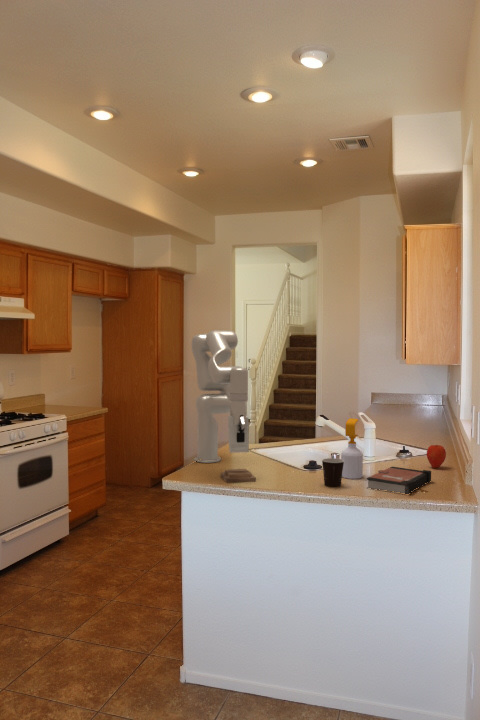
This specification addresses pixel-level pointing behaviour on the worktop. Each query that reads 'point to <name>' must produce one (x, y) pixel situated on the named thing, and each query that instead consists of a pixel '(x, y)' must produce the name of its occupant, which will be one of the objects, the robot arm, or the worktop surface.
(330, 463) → the coffee mug
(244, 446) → the skincare box
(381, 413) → the worktop surface
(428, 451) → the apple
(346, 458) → the soap bottle
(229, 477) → the plinth
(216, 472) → the worktop surface
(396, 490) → the book
